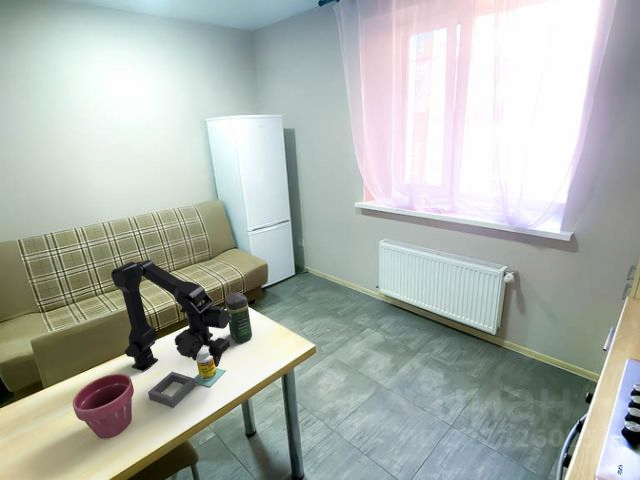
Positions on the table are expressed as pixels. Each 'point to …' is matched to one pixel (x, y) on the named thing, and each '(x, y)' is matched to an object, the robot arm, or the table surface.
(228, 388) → the table surface
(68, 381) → the table surface
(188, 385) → the socket
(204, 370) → the supplement bottle
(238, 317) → the coffee jar
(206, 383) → the mat
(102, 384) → the plant pot
